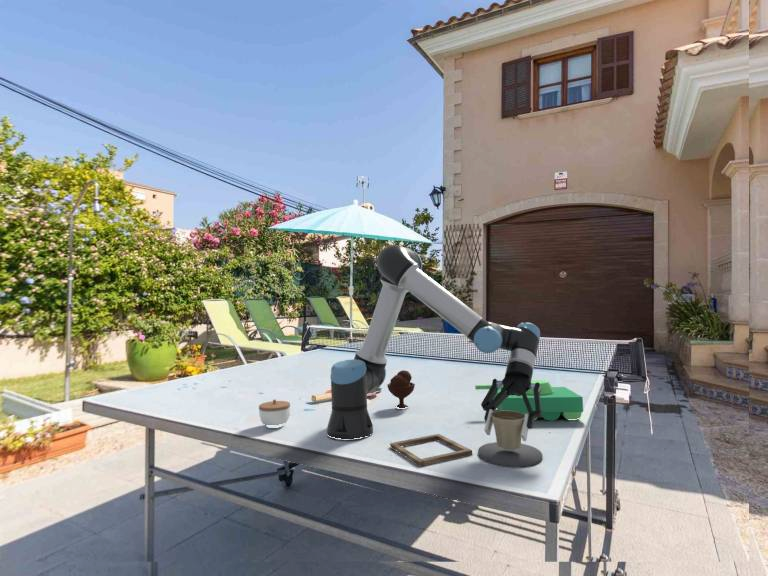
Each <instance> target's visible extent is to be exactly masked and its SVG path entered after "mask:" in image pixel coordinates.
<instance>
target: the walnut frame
mask: <svg viewBox="0 0 768 576" xmlns="http://www.w3.org/2000/svg"><path fill="white" fill-rule="evenodd" d="M434 441H438V442H441V443H443V445H444V444H445V445H447V446H448V447H450V448H452V449H454V450H456V451H451V452H447V453H443V454H439V455H435V456H429V457H425V458H424V457H423V458H421V457H419V456H417V454H415V453H413V452H411V451H409V450H408V449H406V448H405V447H407V446H406V445H409V446H413V445H412V444H414V445H418V443H419V444H423V442H424V443H429V442H434ZM389 445H390V446H391V447H392V448H393V449H392V448H391V447H390V448H391V449H392V450H394V449H395V450H397V451H398V452H400V453H401V454H403V455H404V456H406V457H407V458H408V459H407V458H406V457H405V458H406V459H407V460H409V459H410V460H411V462H412V461H413V462H414V463H413V462H412V463H413V464H415V463H416V464H417V466H418V465H419V466H420V467H424V466H429V465H432V463H433V464H437V463H436V462H438V463H440V462H441V461H442V462H445V461H450V459H451V460H455V459H458V458H459V459H460V458H463V457H467V456H468V457H469V456H471V455H473V449H470V448H468V447H466V446H464V445H463V444H461V443H458V442H457V441H455V440H452V439H449V438H448V437H446V436H444V435H442V434H439V433H436V434H432V435H426V436H425V435H424V436H420V437H415V438H410V439H405V440H399V441H395V442H390V443H389ZM401 446H404V447H401ZM395 450H394V451H395ZM397 451H396V452H397ZM398 452H397V453H398ZM400 453H399V454H400ZM401 454H400V455H401ZM403 455H402V456H403ZM404 456H403V457H404ZM410 460H409V461H410ZM442 462H441V463H442ZM416 464H415V465H416ZM428 464H429V465H428ZM423 465H424V466H423ZM419 466H418V467H419Z"/></svg>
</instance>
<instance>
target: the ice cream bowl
mask: <svg viewBox="0 0 768 576" xmlns="http://www.w3.org/2000/svg"><path fill="white" fill-rule="evenodd" d="M412 378H413V377H412V374H411V373H410V372H409V371H407V370H404V369H403V370H399V371H398V372H397V374H395V375H394V376H392V378H390V382H389V383H388V384H386V385H387V389H388V392H390V394H391V395H392V396H394V397H396V398H398V400H399V403H398V404H397V405H396V406H397V407H399V408H405V407H409V406H408V405H406V404H405V400H404V399H405V398H407V397H408V396H410V395H411V394H412V393H413V392H414V390H415V385H416V384H415V383H413V382H411V381H412Z"/></svg>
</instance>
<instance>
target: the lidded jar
mask: <svg viewBox="0 0 768 576" xmlns="http://www.w3.org/2000/svg"><path fill="white" fill-rule="evenodd" d="M290 407H291V403H290V402H289V401H285V400H277V399H273V400H272V401H267V402H263V403H261V404H259V405H258V410H259V418H260V421H261V423H262V424H263V425H264V424H265V425H279V424H283V423H285V424H287V422H288V421H289V417H290V413H291V410H290V409H291V408H290ZM265 425H264V426H265Z"/></svg>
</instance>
